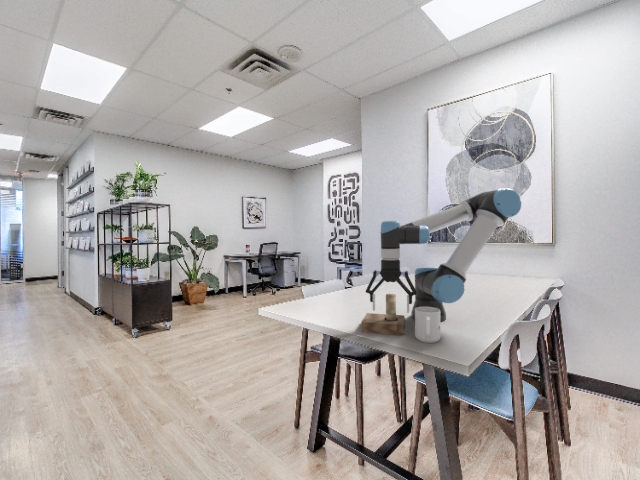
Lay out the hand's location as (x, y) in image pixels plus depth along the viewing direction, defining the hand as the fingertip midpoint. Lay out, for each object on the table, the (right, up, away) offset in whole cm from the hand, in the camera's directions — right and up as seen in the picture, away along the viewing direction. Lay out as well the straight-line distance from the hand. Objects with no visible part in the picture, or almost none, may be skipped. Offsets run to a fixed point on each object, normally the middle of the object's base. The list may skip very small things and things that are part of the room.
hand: (390, 311), depth 131 cm
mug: (+10, -8, -14) cm, 19 cm away
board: (-3, -7, +1) cm, 8 cm away
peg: (0, -7, 0) cm, 7 cm away
